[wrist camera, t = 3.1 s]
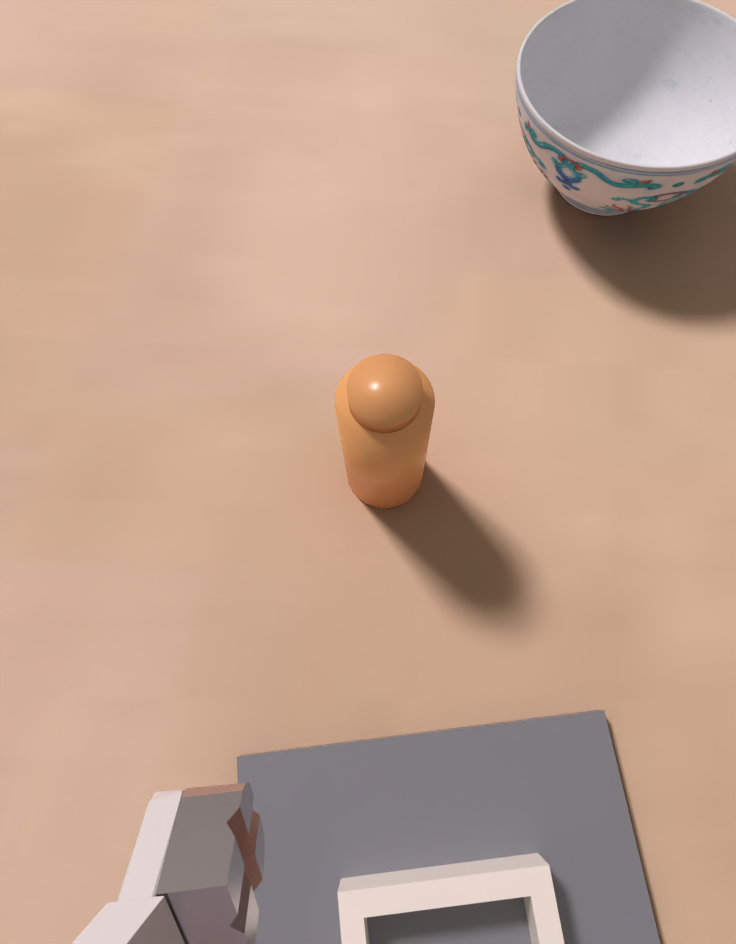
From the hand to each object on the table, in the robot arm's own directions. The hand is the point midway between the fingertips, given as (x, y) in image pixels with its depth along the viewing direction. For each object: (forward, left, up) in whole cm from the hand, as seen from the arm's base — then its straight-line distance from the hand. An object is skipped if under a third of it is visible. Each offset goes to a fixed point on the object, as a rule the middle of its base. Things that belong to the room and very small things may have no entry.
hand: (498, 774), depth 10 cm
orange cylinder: (0, +13, -21) cm, 25 cm away
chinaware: (+18, +33, -21) cm, 43 cm away
